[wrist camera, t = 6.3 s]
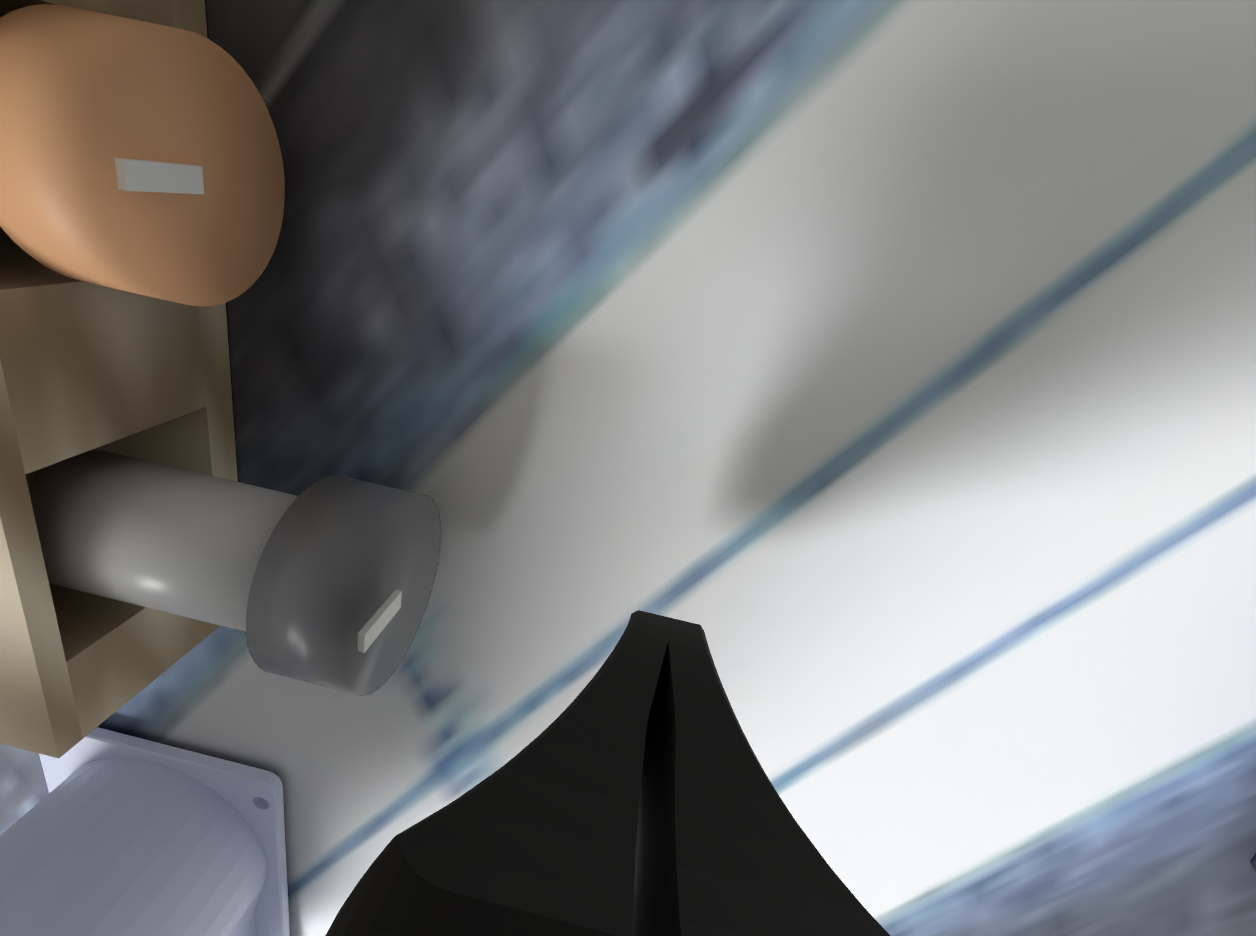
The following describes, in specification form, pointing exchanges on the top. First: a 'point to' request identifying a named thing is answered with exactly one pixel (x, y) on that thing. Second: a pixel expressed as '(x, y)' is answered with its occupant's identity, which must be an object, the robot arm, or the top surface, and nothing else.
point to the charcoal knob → (250, 559)
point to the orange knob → (135, 156)
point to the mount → (95, 420)
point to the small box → (1254, 863)
